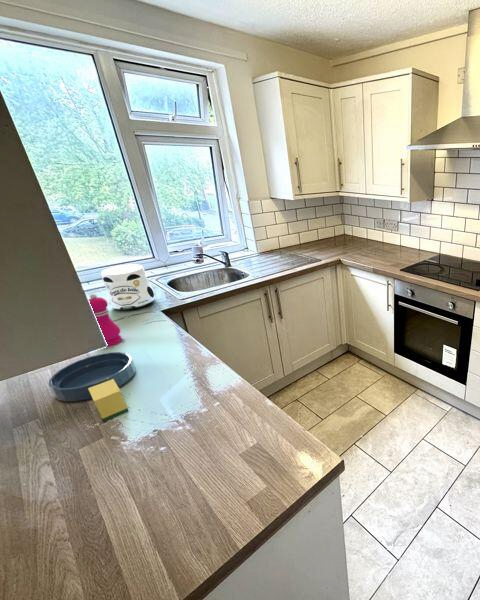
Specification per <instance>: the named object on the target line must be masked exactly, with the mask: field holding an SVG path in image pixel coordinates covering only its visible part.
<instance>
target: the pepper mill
mask: <svg viewBox="0 0 480 600" xmlns="http://www.w3.org/2000/svg"><path fill="white" fill-rule="evenodd" d="M88 300H89V301H90V304H91V306H92V308H93V311H94V314H95V316H96V318H97V321H98V323H99V325H100V328H101V330H102V333H103V335H104V337H105V340H106V342H107V344H108V346H107V347H112V346H115V345H118V344H120V343H121V342H122V341H123V338H122V336H121V334H120V333H121V329H120V327H119V326H118V324H117V323H115V322H114V321H113V319H112V318H111V317H110V316H109V312H110V311H109V308H108V305H109V302H108V300H106V299H105V298H104V297H99V296H97V294H95V293H91V294H89V299H88Z"/></svg>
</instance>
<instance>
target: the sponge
mask: <svg viewBox="0 0 480 600" xmlns="http://www.w3.org/2000/svg"><path fill="white" fill-rule="evenodd" d="M88 389H89V392H90V394H91V396H92V398H91V399H92V401H93V402H94V406H95V407H96V409H97V411H98V414H99V416H100V417H101V420H102V422H103V423H104V422H106V421H110V420H111V419H114V418H116V417H118V416H121V415H122V414H125V413H127V412H129V408H128V406H127V404H126V401H125V398H124V396H123V394H122V391H121V390H120V387H119V388H118V386H117V384H116V383H115V381H114V379H112V380H109V381H106V382H104V383H101V384H98V385H96V386H93V387H90V388H88Z"/></svg>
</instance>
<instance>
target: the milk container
mask: <svg viewBox="0 0 480 600" xmlns="http://www.w3.org/2000/svg"><path fill="white" fill-rule="evenodd" d="M100 276H101V280H102V281H103V285H104V286H105V289H106V293H107V296H106V297H107V303H108V305H110V307H111V308H113V309H114V310H119V311H128V310H129V311H130V310H135V309H140V308H142V307H146V306H147V305H150V304H151V303H152V302H153V301H155V299H156V298H155V297H156V293H155V291H154V288H153V287H152V285H151V284H150V282H149V280H148V276H147V274H146V270H145V268H144V267H143V265H142V264H122V265H117V266H113V267H109V268H106V269H103V270H102V271H101V272H100Z"/></svg>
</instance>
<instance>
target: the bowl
mask: <svg viewBox="0 0 480 600" xmlns="http://www.w3.org/2000/svg"><path fill="white" fill-rule="evenodd" d="M135 373H136V366H135V364H134V360H133V358H132V356H131V354H129V353H126V352H120V351H117V352H116V351H114V352H104V353H100V354H95V355H92V356H88V357H85V358H82V359H78V360H76V361H74V362H72V363H70V364H68V365H66V366H65V367H64V366H63V367H62V368H61V369H59V370H57V371H56V372H55V373H54V374H53V375H52V376H51V377H50V378H49V380H48V386H49V388H50V390H51V392H52V395H54V398H55V399H57V400H58V401H64V402H81V401H86V400H91V399H93V398H92V396H91V394H90V392H89V389H88V388H90V387H93V386H96V385H98V384H101V383H104V382H106V381H109V380H112V379H114V381H115V383H116V384H117V386H118V388H119V389H120V388H121V387H122V386H124V385H125V384H126V383H127V382H129V381H130V380H131V379H132V378H133V376H134V375H135Z"/></svg>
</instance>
